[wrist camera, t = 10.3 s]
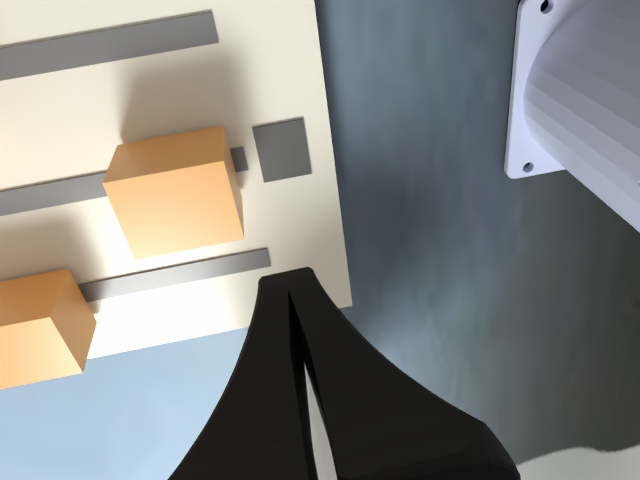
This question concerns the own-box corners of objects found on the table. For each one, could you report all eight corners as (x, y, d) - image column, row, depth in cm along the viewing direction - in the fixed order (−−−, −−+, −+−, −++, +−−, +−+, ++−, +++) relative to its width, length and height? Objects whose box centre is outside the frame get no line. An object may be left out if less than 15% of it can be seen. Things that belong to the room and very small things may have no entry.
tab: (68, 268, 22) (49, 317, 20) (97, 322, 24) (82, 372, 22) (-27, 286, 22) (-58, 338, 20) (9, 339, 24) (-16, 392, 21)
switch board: (292, -131, 17) (297, -131, 16) (346, 286, 27) (353, 307, 26) (-349, -28, 16) (-398, -20, 15) (-40, 363, 27) (-53, 388, 25)
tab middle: (224, 125, 20) (223, 160, 17) (242, 198, 22) (244, 239, 19) (117, 144, 19) (101, 183, 17) (145, 216, 21) (135, 260, 19)
